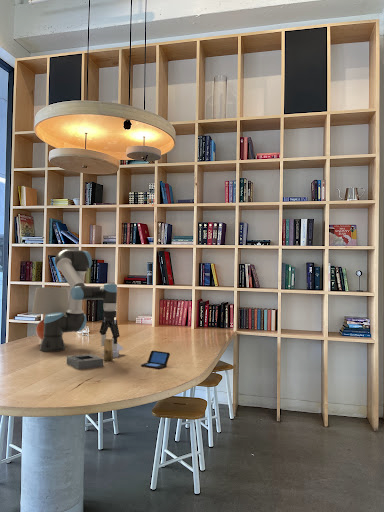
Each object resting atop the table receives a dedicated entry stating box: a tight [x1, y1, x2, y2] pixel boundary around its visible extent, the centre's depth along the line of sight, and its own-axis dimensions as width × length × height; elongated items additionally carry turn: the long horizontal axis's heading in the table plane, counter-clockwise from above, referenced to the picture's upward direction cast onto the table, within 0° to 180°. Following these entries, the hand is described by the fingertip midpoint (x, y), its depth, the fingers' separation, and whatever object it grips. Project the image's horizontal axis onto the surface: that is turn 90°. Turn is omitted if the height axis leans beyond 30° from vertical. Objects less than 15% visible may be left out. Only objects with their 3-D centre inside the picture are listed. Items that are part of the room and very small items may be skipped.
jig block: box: [66, 353, 104, 370], centre depth 226 cm, size 16×14×4 cm
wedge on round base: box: [102, 342, 125, 358], centre depth 254 cm, size 9×7×13 cm
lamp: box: [31, 286, 69, 344], centre depth 289 cm, size 25×25×39 cm
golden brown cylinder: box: [103, 338, 114, 363], centre depth 239 cm, size 5×5×12 cm
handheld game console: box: [140, 350, 171, 370], centre depth 228 cm, size 12×11×7 cm
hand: (108, 347), depth 239 cm, fingers open, 13 cm apart
